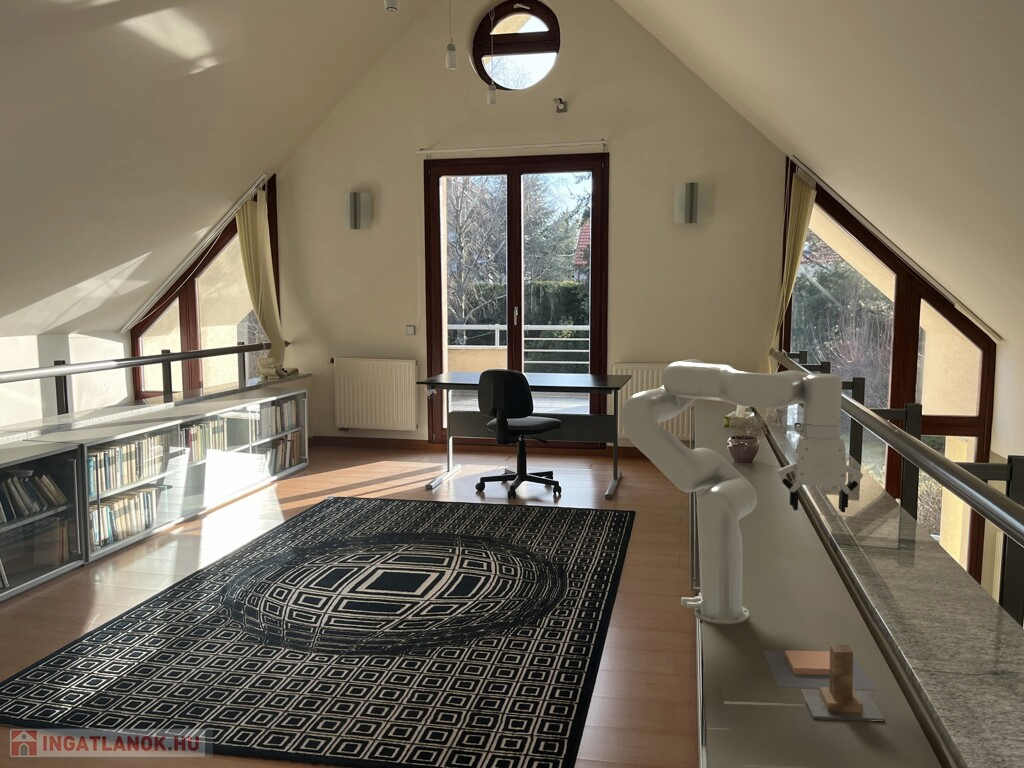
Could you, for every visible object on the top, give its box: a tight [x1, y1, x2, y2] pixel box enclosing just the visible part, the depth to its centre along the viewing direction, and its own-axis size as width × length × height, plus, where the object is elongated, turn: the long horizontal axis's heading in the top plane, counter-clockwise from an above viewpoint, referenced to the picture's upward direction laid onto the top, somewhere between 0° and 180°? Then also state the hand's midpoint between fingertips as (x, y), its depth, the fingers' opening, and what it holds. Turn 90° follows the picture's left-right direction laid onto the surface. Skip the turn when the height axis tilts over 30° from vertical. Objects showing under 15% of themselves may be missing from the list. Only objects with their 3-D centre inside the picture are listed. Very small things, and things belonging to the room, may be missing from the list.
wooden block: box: [819, 643, 863, 712], centre depth 147 cm, size 6×6×10 cm
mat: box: [762, 650, 877, 691], centre depth 161 cm, size 18×16×1 cm
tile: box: [784, 650, 830, 675], centre depth 162 cm, size 10×1×8 cm
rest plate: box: [800, 688, 885, 722], centre depth 147 cm, size 12×10×1 cm
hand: (818, 509), depth 174 cm, fingers open, 9 cm apart
